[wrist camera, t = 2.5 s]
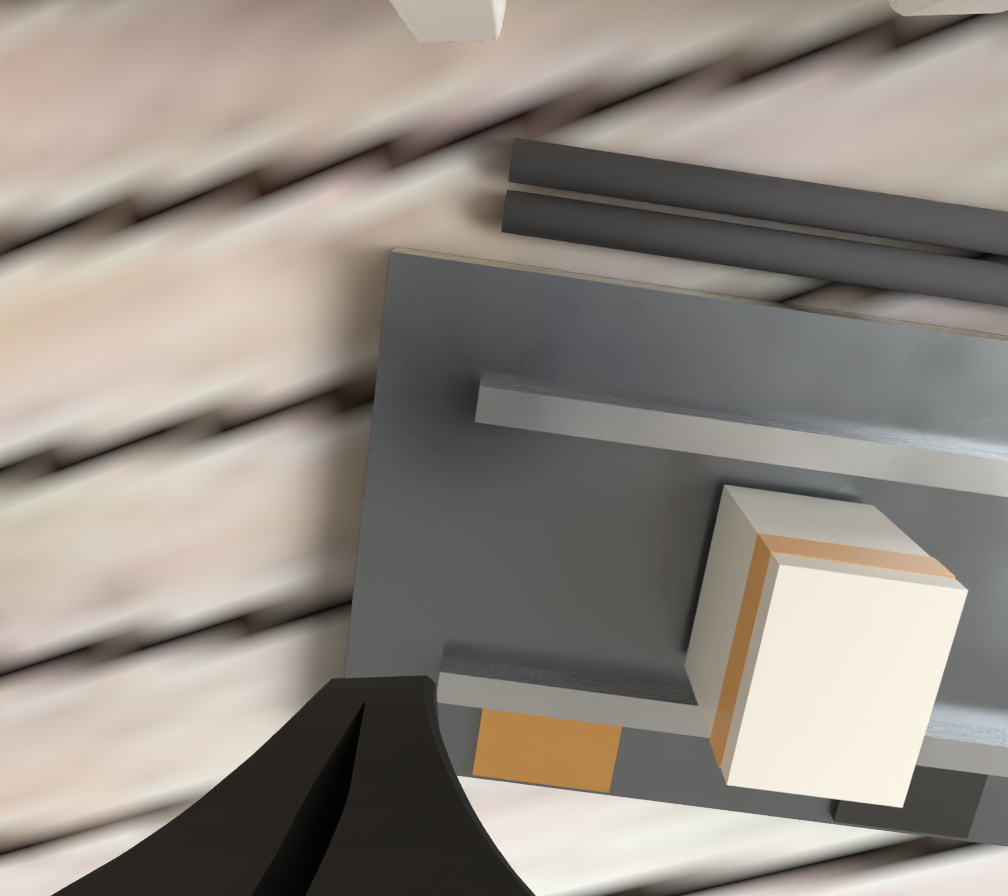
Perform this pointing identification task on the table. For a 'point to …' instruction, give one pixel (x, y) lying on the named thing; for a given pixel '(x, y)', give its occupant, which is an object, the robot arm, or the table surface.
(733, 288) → the table surface
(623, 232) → the cords
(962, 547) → the panel
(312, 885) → the robot arm
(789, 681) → the white and orange block
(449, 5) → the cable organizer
